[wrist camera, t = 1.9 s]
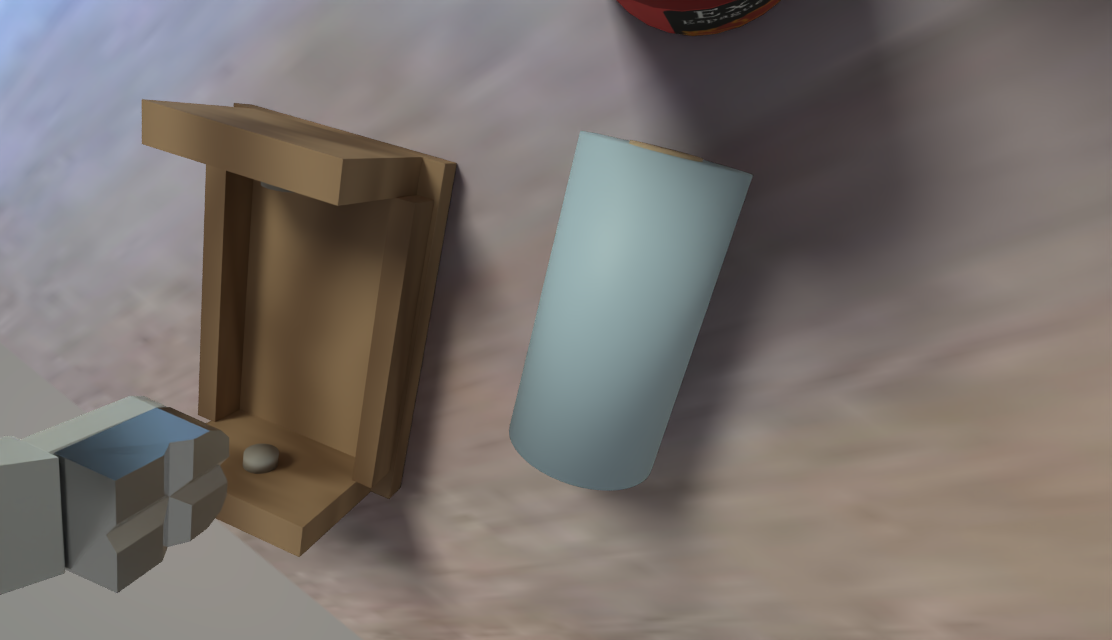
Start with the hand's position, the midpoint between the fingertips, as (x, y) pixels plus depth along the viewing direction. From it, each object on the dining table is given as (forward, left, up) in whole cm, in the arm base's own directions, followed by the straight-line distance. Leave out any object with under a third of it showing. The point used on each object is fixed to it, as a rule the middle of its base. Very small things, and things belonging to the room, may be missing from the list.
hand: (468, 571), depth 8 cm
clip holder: (+14, +5, -16) cm, 22 cm away
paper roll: (0, 0, -16) cm, 16 cm away
